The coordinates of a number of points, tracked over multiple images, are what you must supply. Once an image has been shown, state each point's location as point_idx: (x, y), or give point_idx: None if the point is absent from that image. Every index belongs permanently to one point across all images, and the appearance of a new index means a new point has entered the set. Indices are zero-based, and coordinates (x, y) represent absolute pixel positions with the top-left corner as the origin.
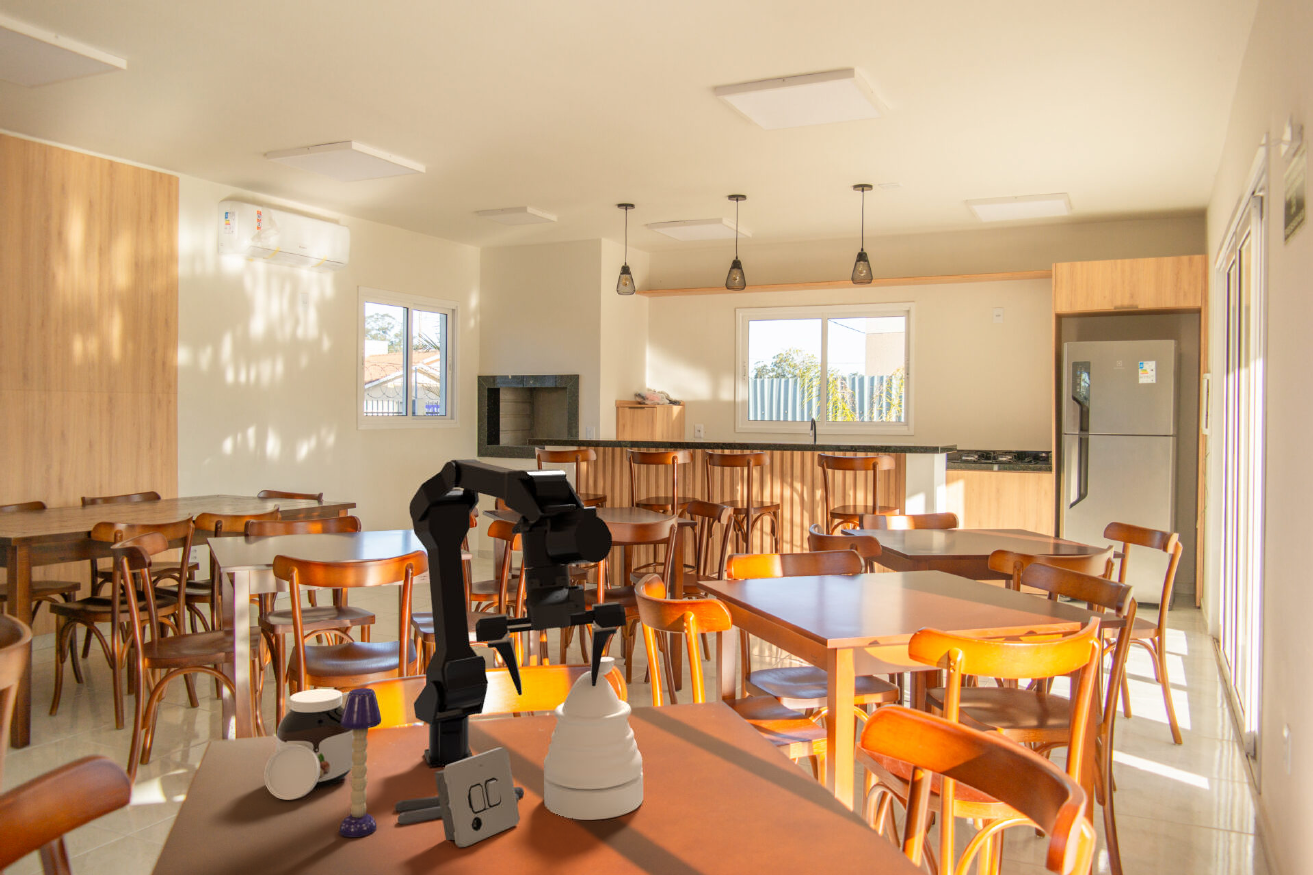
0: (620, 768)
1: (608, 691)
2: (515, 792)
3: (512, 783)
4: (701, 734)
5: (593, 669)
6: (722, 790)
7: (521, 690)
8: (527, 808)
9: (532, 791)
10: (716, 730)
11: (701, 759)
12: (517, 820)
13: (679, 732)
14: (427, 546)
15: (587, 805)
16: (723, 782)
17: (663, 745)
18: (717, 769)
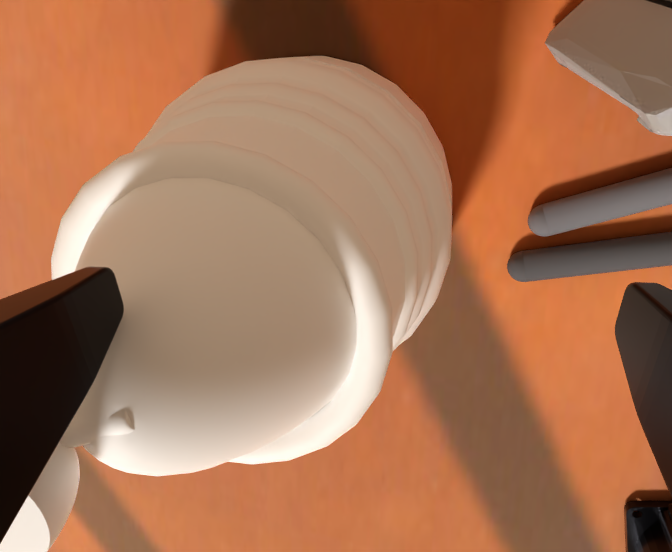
0: (183, 99)
1: None
2: (535, 253)
3: (591, 65)
4: (89, 516)
5: (14, 313)
6: (17, 214)
7: (638, 300)
8: (505, 168)
9: (479, 286)
10: None
11: None
12: (553, 32)
13: (132, 537)
14: None
15: (325, 59)
16: (20, 260)
17: (160, 484)
18: None
